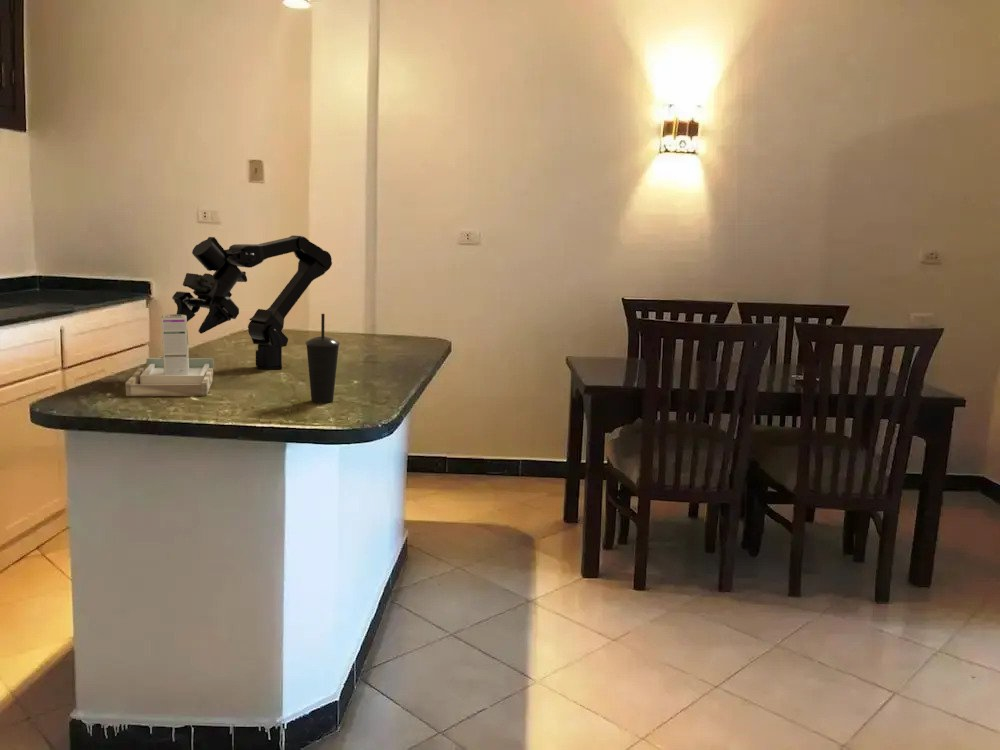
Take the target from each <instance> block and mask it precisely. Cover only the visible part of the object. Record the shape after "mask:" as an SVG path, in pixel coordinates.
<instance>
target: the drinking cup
mask: <svg viewBox="0 0 1000 750" xmlns="http://www.w3.org/2000/svg"><path fill="white" fill-rule="evenodd" d="M320 315H321V320H320V321H321V322H320V323H321V327H320V328H321V331H320V332H321V335H320V336H316V337H312V338H310V339H308V340H306V341H305V345H306V352H307V363H308V365H307V366H308V373H309V374H308V377H309V378H308V379H309V387H310V388H309V389H310V398H311V399H310V400H311V402H312V403H314V404H329V403H333V402H334V397H335V396H334V395H335V385H336V376H337V365H338V355H339V347H340V345H341V342H340V341H339V340H336V339H334V338H332V337H330V336H325V320H326V319H325V315H326V314H325V313H321V314H320Z"/></svg>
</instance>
